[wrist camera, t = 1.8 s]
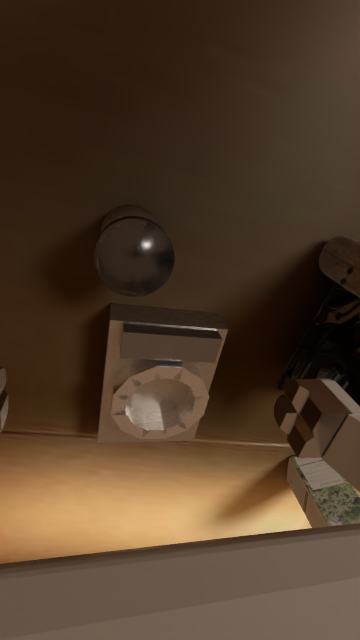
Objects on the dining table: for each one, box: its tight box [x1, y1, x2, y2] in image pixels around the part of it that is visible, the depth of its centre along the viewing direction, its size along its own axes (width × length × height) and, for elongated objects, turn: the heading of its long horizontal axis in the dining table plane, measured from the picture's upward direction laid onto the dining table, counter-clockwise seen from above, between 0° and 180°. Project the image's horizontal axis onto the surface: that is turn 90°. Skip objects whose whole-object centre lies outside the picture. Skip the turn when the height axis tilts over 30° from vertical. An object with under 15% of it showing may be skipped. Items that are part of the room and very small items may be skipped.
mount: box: [97, 303, 228, 443], centre depth 28 cm, size 14×10×5 cm
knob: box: [94, 205, 174, 296], centre depth 21 cm, size 5×5×6 cm
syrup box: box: [286, 456, 360, 528], centre depth 38 cm, size 6×6×14 cm
